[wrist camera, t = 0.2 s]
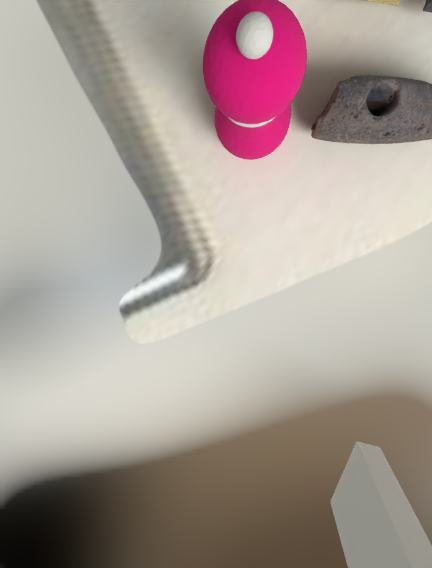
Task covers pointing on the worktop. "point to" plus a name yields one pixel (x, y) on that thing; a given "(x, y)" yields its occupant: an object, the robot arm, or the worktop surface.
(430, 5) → the ring
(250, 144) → the pepper mill
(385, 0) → the sleeve
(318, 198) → the worktop surface
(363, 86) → the perforated stone tool
